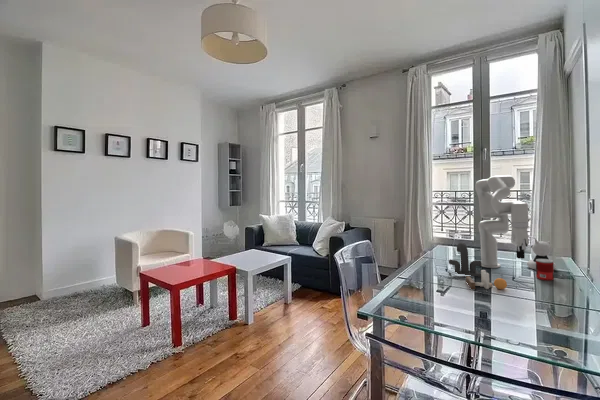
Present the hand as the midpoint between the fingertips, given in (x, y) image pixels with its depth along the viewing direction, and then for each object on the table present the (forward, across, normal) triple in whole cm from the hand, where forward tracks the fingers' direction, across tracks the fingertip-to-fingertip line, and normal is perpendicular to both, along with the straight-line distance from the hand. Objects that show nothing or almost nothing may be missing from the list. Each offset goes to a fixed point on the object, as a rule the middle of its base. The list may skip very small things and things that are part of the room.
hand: (520, 258), depth 160 cm
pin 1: (+17, -2, -18) cm, 24 cm away
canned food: (+17, -17, +18) cm, 30 cm away
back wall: (+16, 0, -25) cm, 30 cm away
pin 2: (+16, +3, -18) cm, 24 cm away
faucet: (+17, -25, -23) cm, 38 cm away
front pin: (+15, +1, -14) cm, 21 cm away
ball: (+13, +4, -11) cm, 18 cm away
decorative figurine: (+17, -38, +25) cm, 48 cm away
